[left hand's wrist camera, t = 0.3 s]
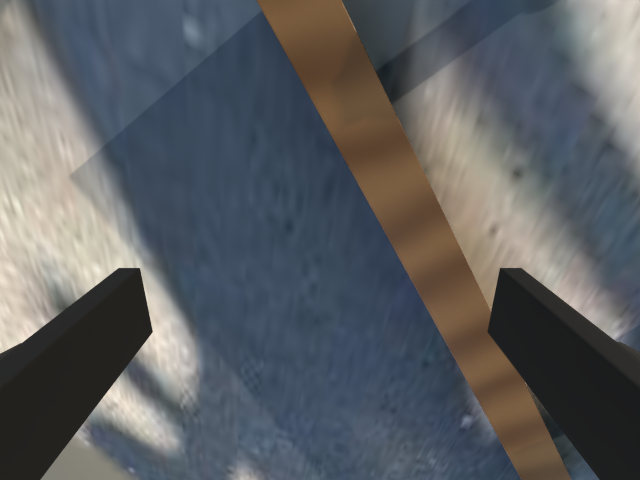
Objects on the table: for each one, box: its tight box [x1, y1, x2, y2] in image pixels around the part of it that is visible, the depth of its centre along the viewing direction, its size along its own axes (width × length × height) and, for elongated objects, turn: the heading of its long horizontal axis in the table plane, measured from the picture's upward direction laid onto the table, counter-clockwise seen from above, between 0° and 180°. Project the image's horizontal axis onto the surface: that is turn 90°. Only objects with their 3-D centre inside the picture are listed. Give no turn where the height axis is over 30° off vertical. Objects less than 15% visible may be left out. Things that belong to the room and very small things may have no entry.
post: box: [257, 0, 571, 480], centre depth 39 cm, size 75×5×7 cm, turn 30°
